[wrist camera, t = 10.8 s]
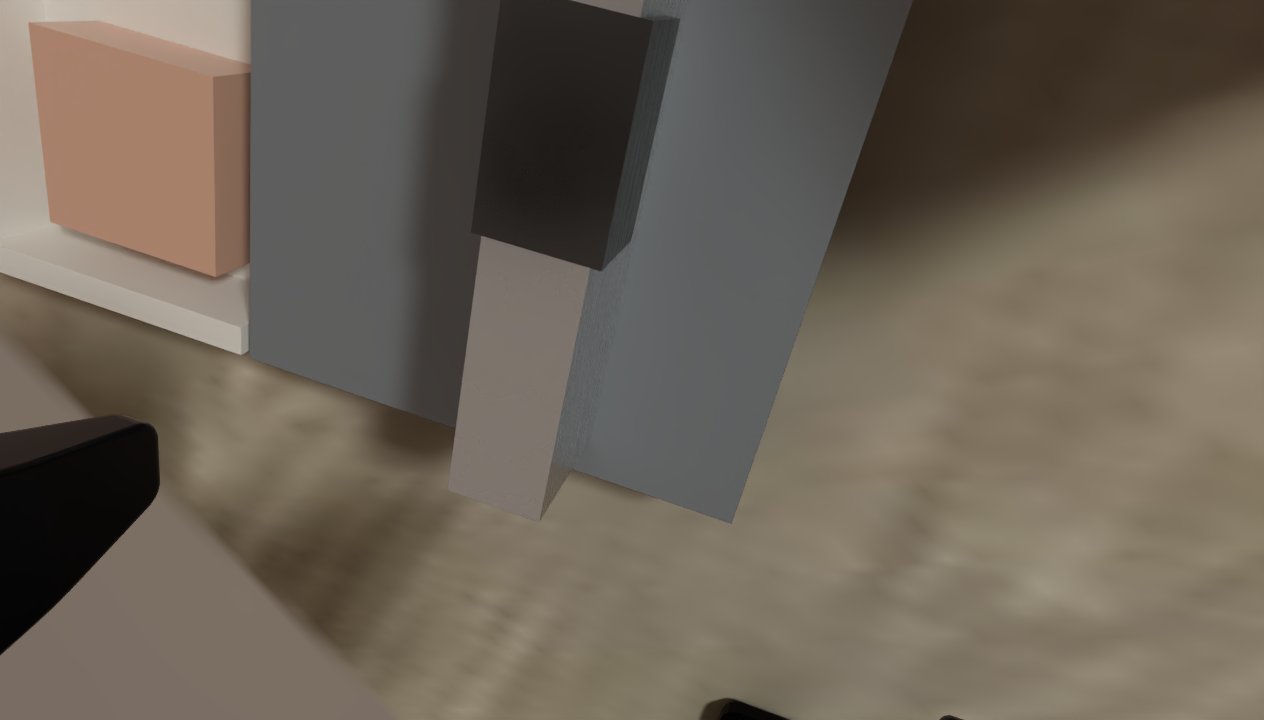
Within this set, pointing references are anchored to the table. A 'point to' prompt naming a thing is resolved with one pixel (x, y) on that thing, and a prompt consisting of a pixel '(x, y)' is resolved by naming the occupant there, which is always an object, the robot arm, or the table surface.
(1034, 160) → the table surface
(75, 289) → the tray
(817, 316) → the table surface
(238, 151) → the tile
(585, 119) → the sleeved grey plank
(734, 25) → the board
